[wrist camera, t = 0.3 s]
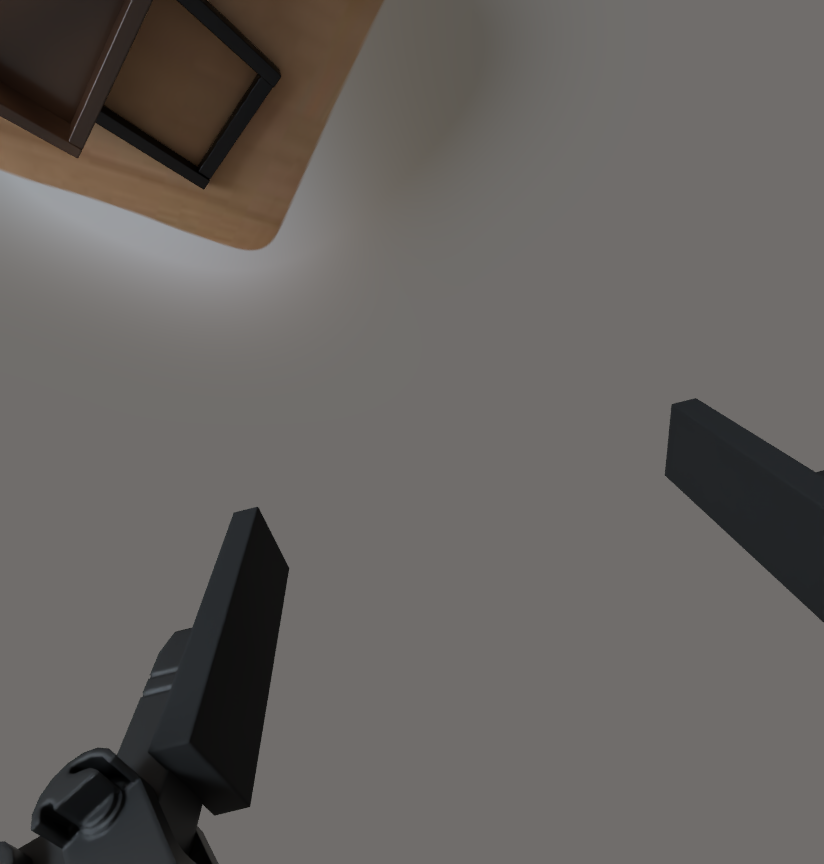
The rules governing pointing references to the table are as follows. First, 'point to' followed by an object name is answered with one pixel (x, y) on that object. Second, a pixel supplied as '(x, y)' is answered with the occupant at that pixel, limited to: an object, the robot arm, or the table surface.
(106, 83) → the tray
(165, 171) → the table surface
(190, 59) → the table surface
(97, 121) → the tray rails
